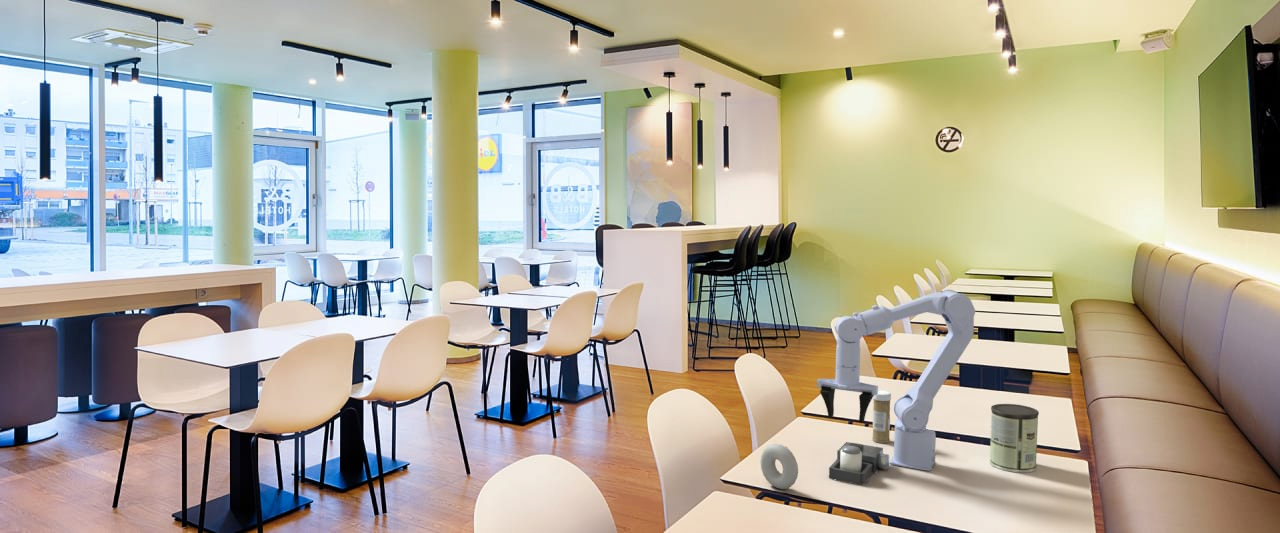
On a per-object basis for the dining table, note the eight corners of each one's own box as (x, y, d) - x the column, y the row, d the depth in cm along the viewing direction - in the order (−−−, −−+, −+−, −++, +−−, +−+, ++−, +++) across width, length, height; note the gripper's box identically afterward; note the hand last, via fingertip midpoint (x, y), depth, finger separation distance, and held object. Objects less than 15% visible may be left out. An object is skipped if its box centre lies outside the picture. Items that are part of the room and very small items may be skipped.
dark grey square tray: (873, 472, 175) (873, 462, 175) (863, 485, 167) (864, 474, 167) (839, 466, 179) (839, 456, 179) (828, 478, 171) (828, 468, 171)
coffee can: (996, 455, 187) (999, 401, 186) (1041, 465, 180) (1044, 408, 179) (982, 466, 180) (985, 409, 179) (1029, 476, 173) (1031, 417, 172)
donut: (756, 483, 168) (757, 440, 168) (767, 479, 170) (767, 437, 170) (790, 496, 161) (791, 452, 160) (801, 493, 163) (802, 448, 162)
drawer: (891, 465, 180) (891, 445, 180) (883, 475, 173) (884, 454, 173) (845, 457, 186) (846, 438, 185) (836, 467, 179) (837, 446, 178)
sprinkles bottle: (893, 441, 198) (894, 392, 197) (882, 444, 196) (883, 395, 195) (879, 437, 202) (880, 389, 201) (868, 440, 199) (869, 391, 198)
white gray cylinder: (863, 475, 173) (864, 447, 173) (857, 481, 169) (858, 452, 169) (843, 471, 176) (844, 443, 175) (837, 477, 172) (837, 449, 171)
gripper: (813, 364, 182) (812, 418, 183) (873, 371, 175) (872, 427, 176) (822, 359, 188) (821, 412, 189) (880, 366, 181) (878, 420, 182)
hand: (846, 419), depth 183 cm, fingers open, 7 cm apart
